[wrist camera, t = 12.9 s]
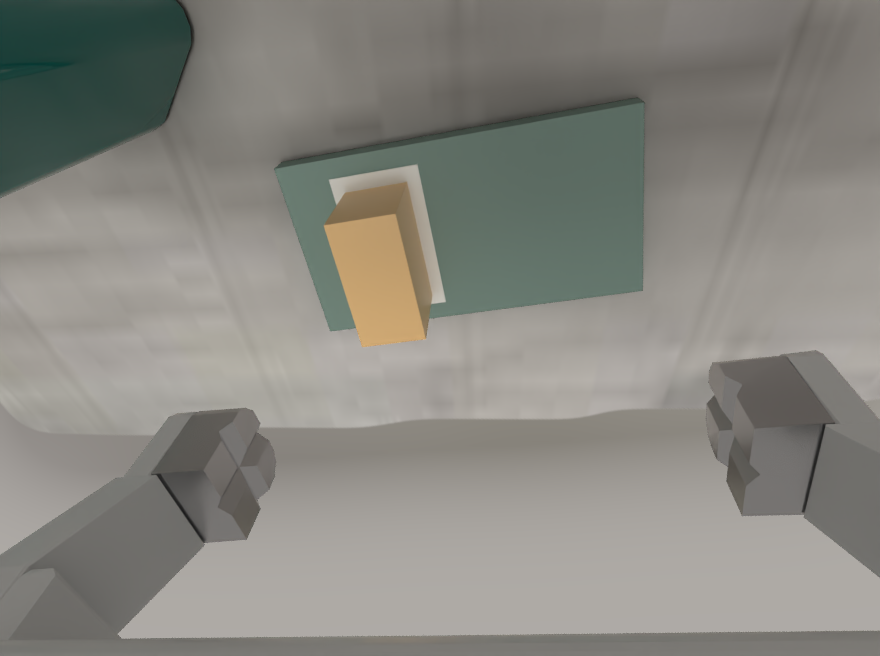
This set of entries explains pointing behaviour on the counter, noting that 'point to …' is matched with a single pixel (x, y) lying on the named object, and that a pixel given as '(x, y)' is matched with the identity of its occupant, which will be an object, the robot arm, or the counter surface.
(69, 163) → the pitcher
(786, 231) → the counter surface
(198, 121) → the counter surface
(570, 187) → the board
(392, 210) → the block
